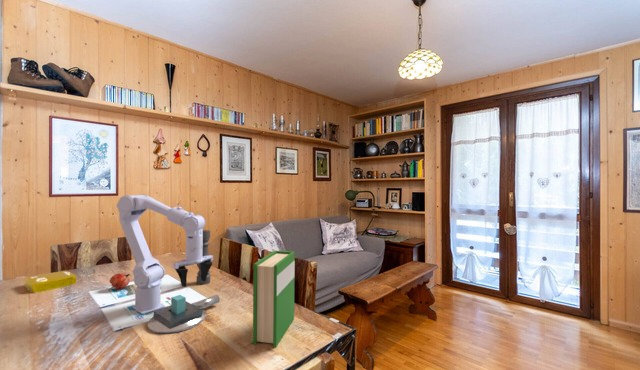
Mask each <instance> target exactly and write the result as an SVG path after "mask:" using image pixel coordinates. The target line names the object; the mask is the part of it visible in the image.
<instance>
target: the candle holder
mask: <svg viewBox="0 0 640 370" xmlns="http://www.w3.org/2000/svg"><path fill="white" fill-rule="evenodd" d="M210 238H211V230H209V229H203V250H202V256H208V255H210V254H209V246H210V242H209V241H210ZM196 267H197V268H198V272H197V273H196V274H197V275H196V285H199V286H200V285H201V286H204V285H208V284H210V283H211V274H210V273H211V271H210V270H209V272H208V274H207V278H206V281H202V280H201V266H200V263H198V264H196Z"/></svg>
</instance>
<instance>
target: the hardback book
mask: <svg viewBox="0 0 640 370" xmlns="http://www.w3.org/2000/svg"><path fill="white" fill-rule="evenodd" d="M295 253H296V251H285V250H274V251H272V252H271V253H269V254H267V255H266V256H264V257H262V258H261V259H259V260H258V261H256V262H255V263H253V268H252V269H253V274H252V275H253V284H252V286H253V287H252V289H253V294H252V299H253V300H252V345H255V346H256V345H257V344H258V343H259V342H261V343H267V344H273V345H272V347H273V348H277V347H278V346H279V344H280V342H281V341H282V339H283V338H284V336H285V335H286V333H287V331H289V328H290V326H291V325H292V323H293V322H294V320H295V274H296V273H295V270H296V269H295V267H296V266H295V265H296V264H295V263H296V261H295V256H296V255H295Z"/></svg>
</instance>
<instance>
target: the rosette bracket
mask: <svg viewBox="0 0 640 370" xmlns="http://www.w3.org/2000/svg"><path fill="white" fill-rule="evenodd" d="M220 300H221V299H220V296H219V295H218V294H216V295H212V296H209V297H207V298H204V299H201V300H198V301H194V302H193V303H192V302H191V303H190V302H188V301H186V311H184V312H182V313H179V314H176V315H175V314H173V313H171V304H170V305H167V306H165V307H163V308H160V309H157V310H154V311H152V312H153V313H152V315H153V316H152V317H150V318H149V320H148V322H147V329H148V330H149V331H150V332H152V333H154V334H160V335H167V334H168V335H169V334H176V333H180V332H181V333H182V332H185V331H187V330H190V329H193V328H195V327H196V326H199V325H200V324H202V323H203V321H204V320H205V319H206V316H207V315H206V314H207V313H206V310H205V308H207V307H210V306H214V305H216V304H218V303H220Z"/></svg>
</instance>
